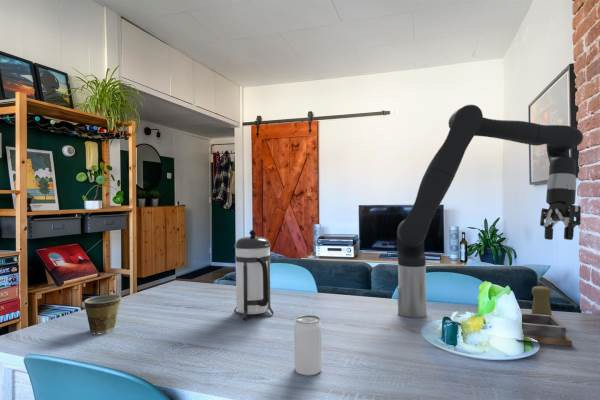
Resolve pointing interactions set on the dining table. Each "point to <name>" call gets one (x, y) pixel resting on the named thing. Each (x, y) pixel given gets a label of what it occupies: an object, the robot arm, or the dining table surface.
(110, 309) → the ceramic cup
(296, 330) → the can
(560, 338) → the brown wooden tray
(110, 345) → the dining table surface
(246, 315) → the coffee press
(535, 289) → the cork
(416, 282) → the robot arm
